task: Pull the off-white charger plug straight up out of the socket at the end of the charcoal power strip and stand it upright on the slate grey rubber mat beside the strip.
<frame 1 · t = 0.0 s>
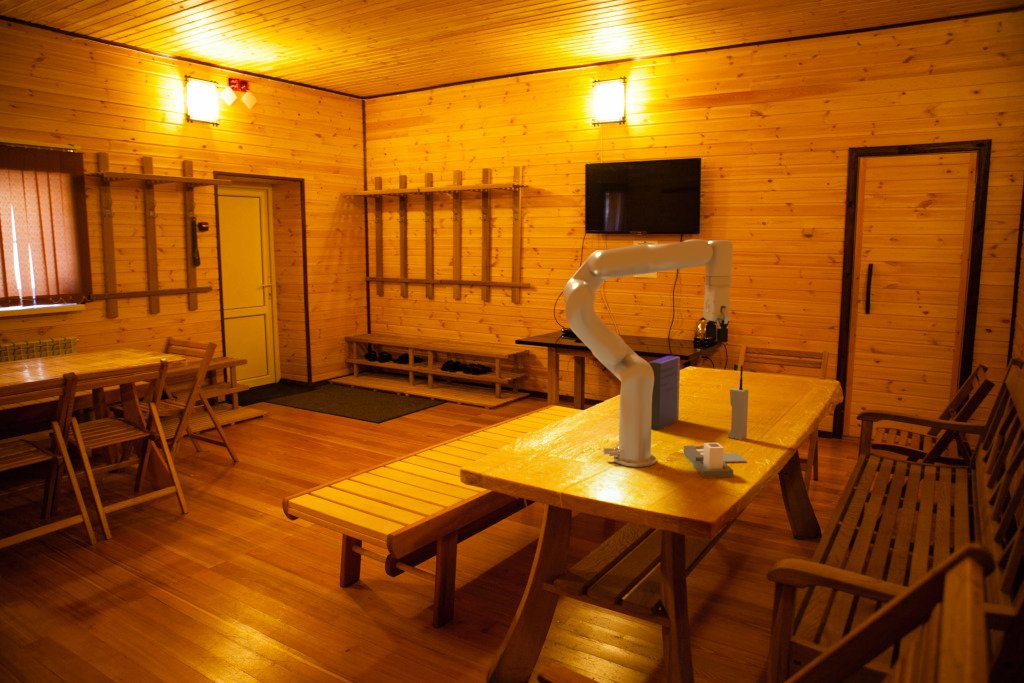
hand: (716, 339, 210), 37 cm above the table, tool pointing down, fingers open, 9 cm apart
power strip: (712, 472, 203), on the table
vintage mobile phone: (737, 438, 238), on the table
rubber mat: (728, 458, 216), on the table
cereal box: (662, 424, 257), on the table
charger plug: (712, 472, 203), resting in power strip
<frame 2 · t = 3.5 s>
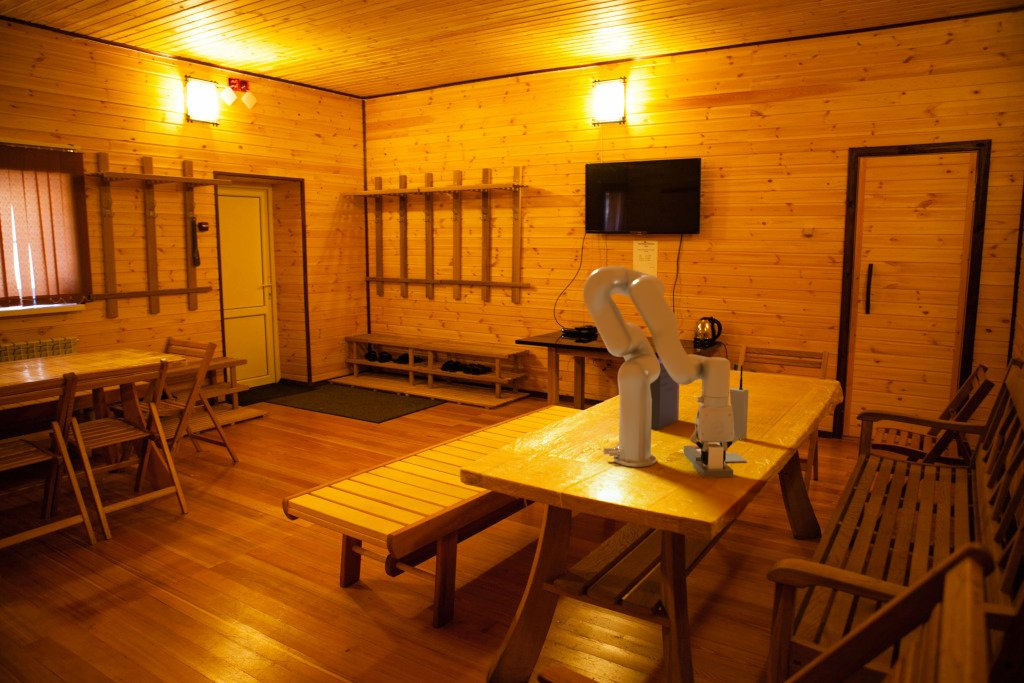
hand: (713, 462, 203), 3 cm above the table, tool pointing down, fingers closed on charger plug, 4 cm apart
charger plug: (712, 472, 203), resting in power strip, touching gripper
everything else where it was.
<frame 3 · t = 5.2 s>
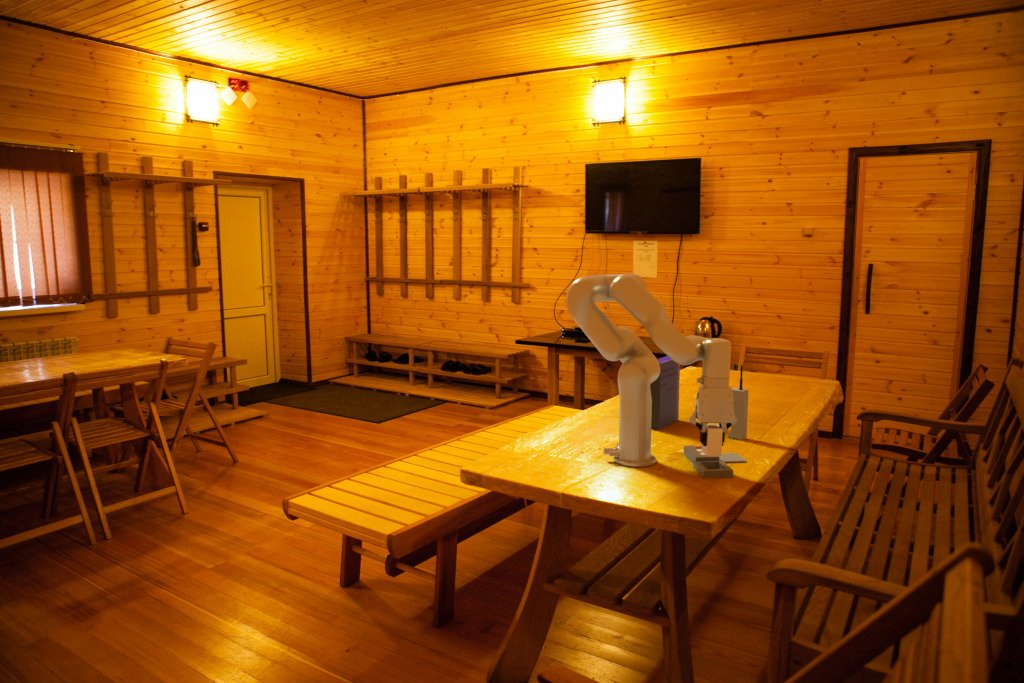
hand: (711, 444, 202), 8 cm above the table, tool pointing down, fingers closed on charger plug, 4 cm apart
charger plug: (711, 453, 203), point 5 cm above the table, touching gripper
everything else where it was.
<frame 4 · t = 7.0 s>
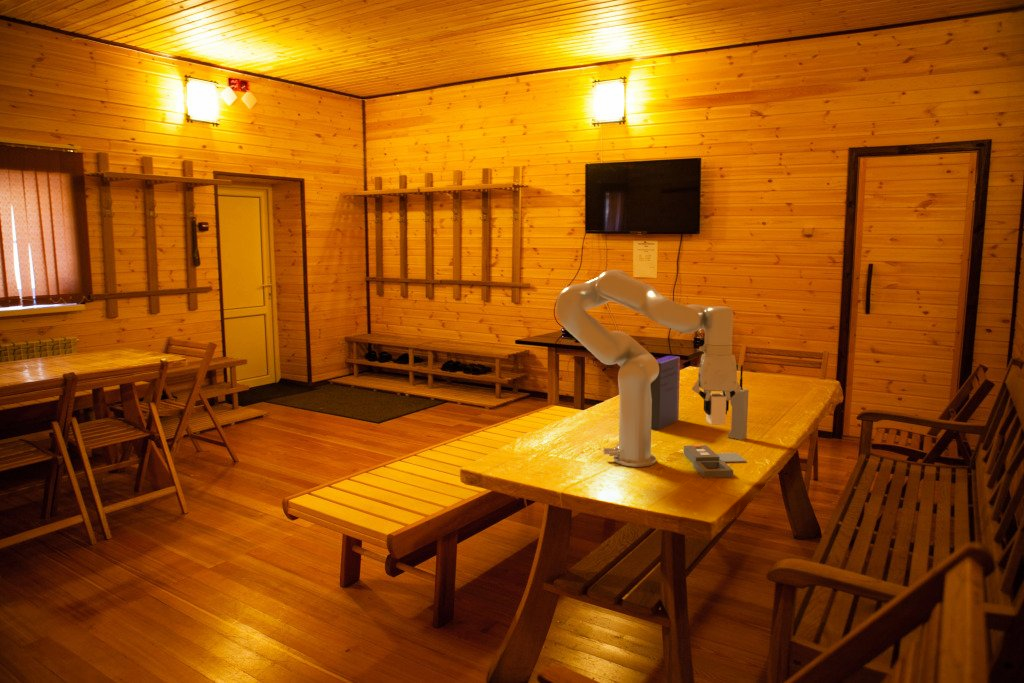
hand: (715, 412, 202), 17 cm above the table, tool pointing down, fingers closed on charger plug, 4 cm apart
charger plug: (715, 422, 202), point 14 cm above the table, touching gripper
everything else where it was.
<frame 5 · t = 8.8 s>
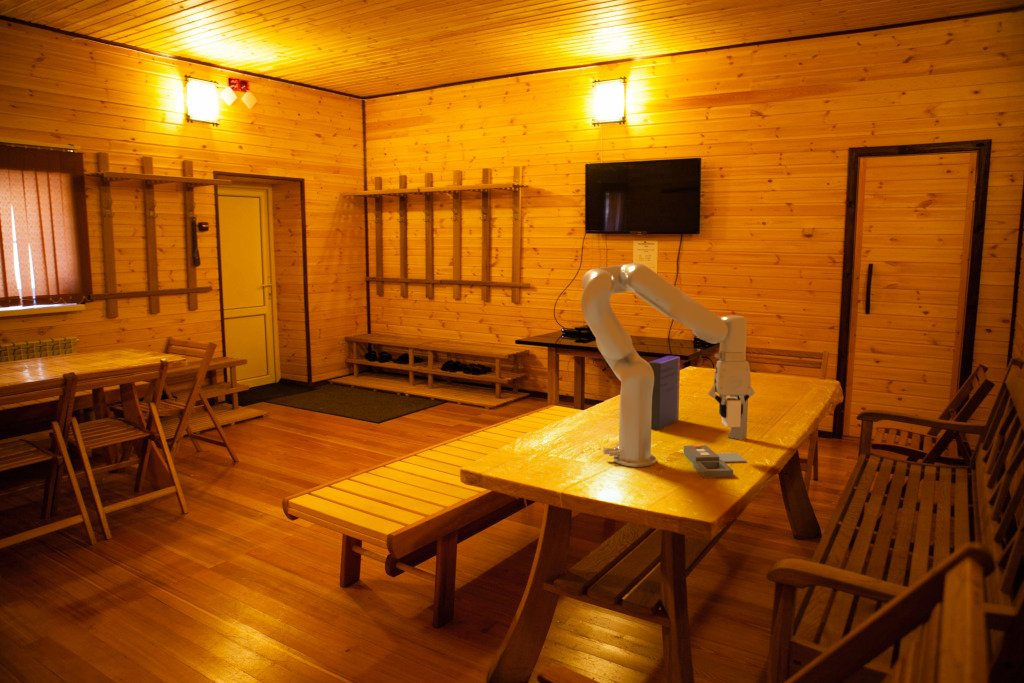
hand: (730, 415, 214), 13 cm above the table, tool pointing down, fingers closed on charger plug, 4 cm apart
charger plug: (730, 424, 214), point 11 cm above the table, touching gripper
everything else where it was.
when the fingers open (5 cm above the table, at t = 10.5 s): charger plug drops 1 cm, resting on rubber mat.
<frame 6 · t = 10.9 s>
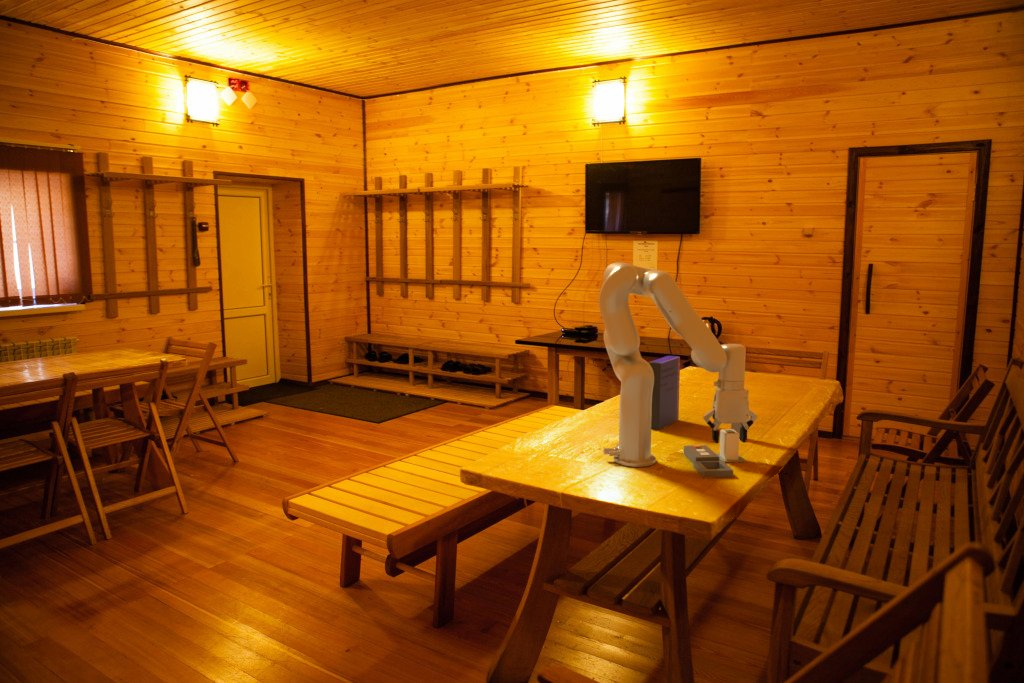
hand: (729, 441, 215), 5 cm above the table, tool pointing down, fingers open, 7 cm apart
charger plug: (728, 457, 216), resting on rubber mat
everything else where it was.
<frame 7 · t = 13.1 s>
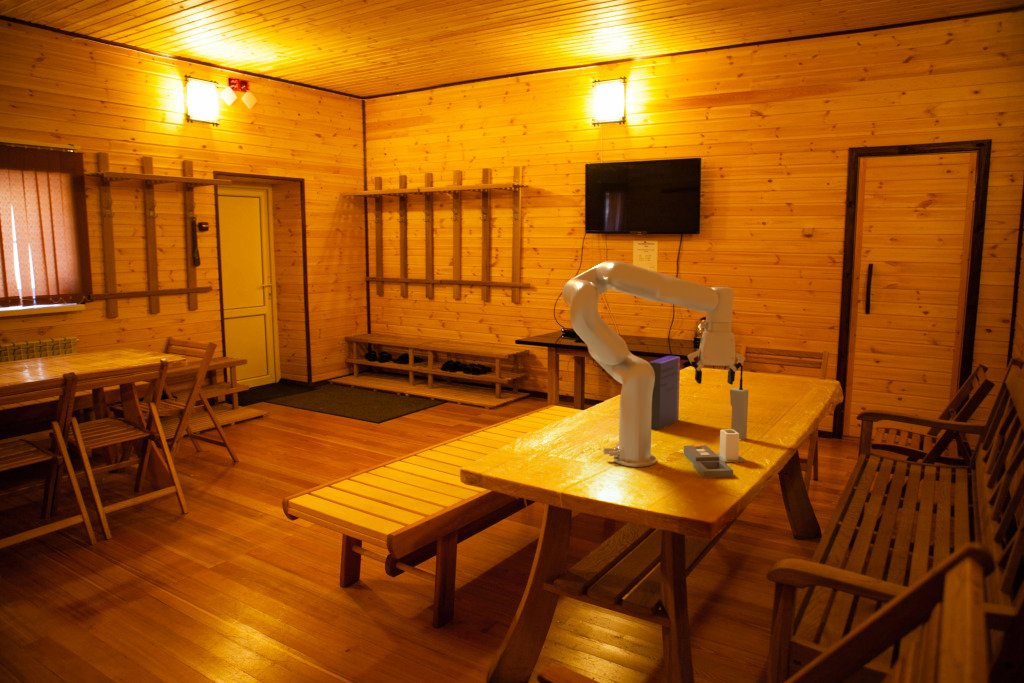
hand: (714, 383, 216), 23 cm above the table, tool pointing down, fingers open, 9 cm apart
nothing on the table moved.
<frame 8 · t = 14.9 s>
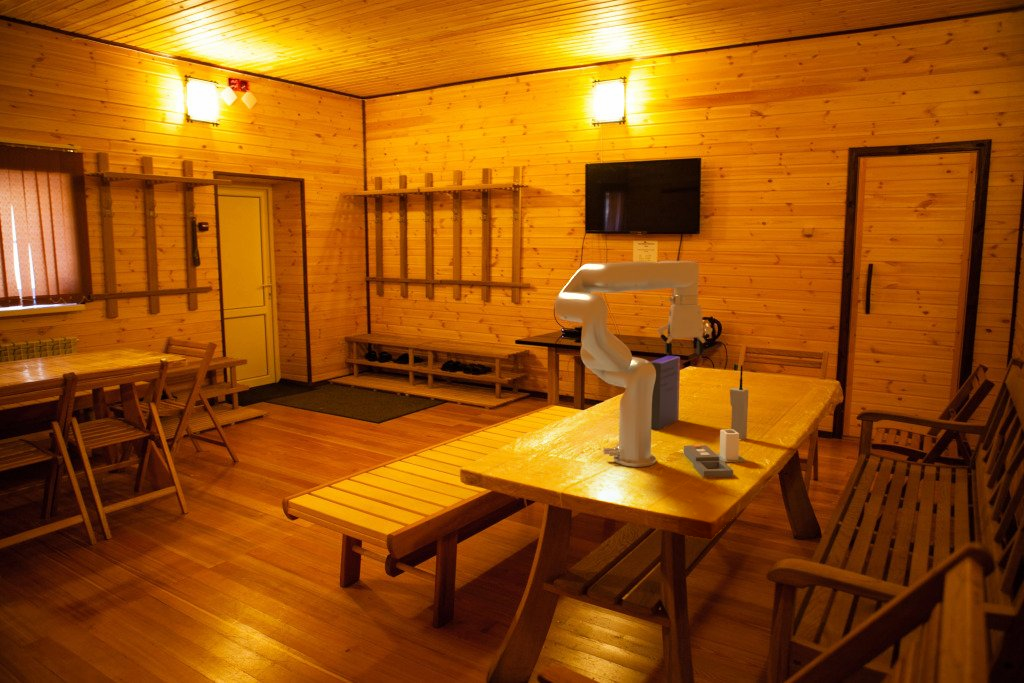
hand: (684, 355, 223), 30 cm above the table, tool pointing down, fingers open, 9 cm apart
nothing on the table moved.
at the end: charger plug 0.1 cm from the target spot, point 0.5 cm above the table; charger plug tilted 0°; the gripper is holding nothing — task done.
